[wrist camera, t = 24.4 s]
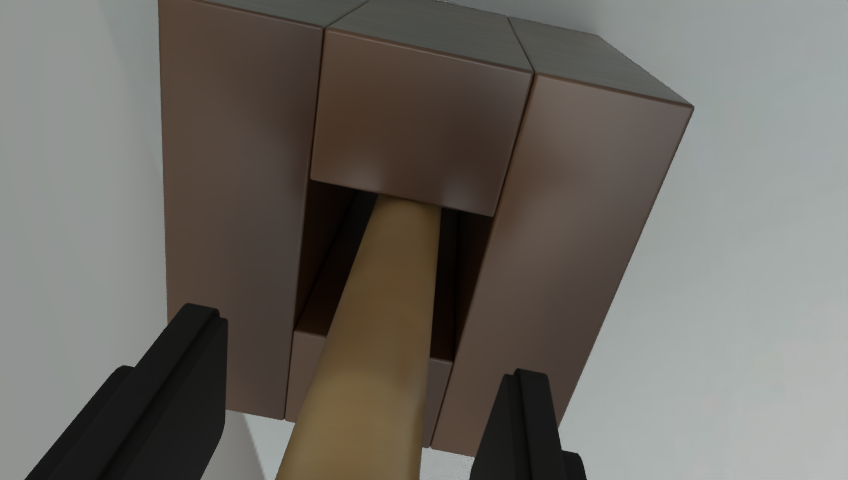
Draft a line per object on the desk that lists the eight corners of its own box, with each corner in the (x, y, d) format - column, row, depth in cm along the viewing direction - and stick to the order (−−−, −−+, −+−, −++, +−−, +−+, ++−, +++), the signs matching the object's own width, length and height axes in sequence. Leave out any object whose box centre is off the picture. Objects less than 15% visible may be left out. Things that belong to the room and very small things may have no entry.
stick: (403, 149, 23) (206, 777, 5) (403, 105, 22) (172, 668, 5) (447, 151, 23) (398, 793, 5) (449, 107, 22) (398, 686, 4)
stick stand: (271, 242, 26) (168, 399, 17) (290, -32, 20) (155, -10, 12) (516, 292, 26) (541, 471, 17) (600, 35, 21) (697, 106, 12)
